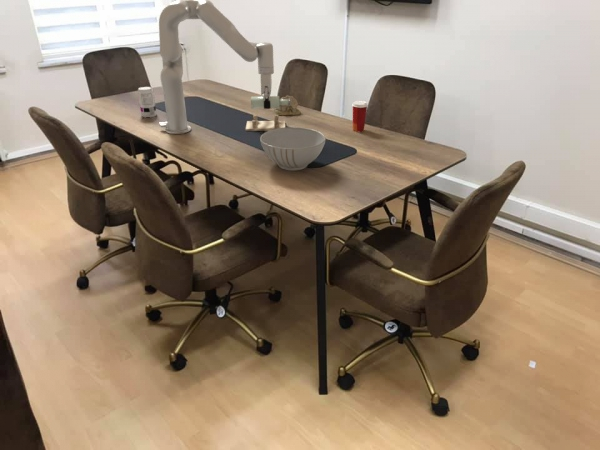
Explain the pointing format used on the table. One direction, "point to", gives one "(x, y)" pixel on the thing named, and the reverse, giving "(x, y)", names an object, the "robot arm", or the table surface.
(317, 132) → the decorative bowl
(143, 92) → the supplement can
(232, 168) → the table surface
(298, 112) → the ceramic model
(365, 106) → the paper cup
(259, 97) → the bottle
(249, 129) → the bottle rest
